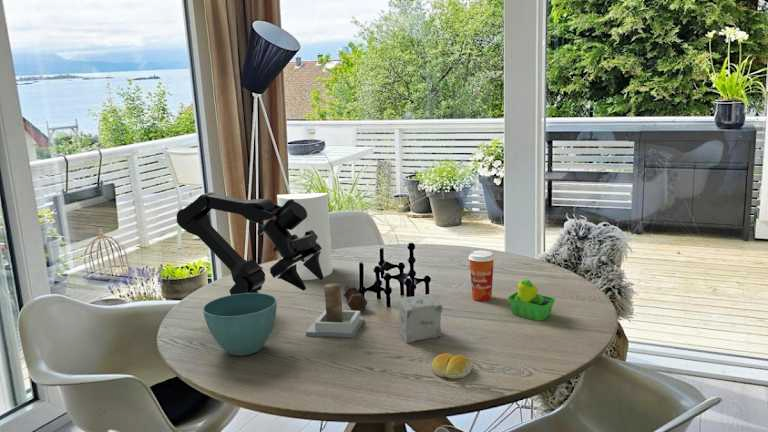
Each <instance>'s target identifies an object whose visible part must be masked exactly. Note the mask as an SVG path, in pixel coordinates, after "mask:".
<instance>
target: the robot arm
mask: <svg viewBox="0 0 768 432" xmlns="http://www.w3.org/2000/svg"><path fill="white" fill-rule="evenodd" d="M212 210H215V211H219V212H224V213H225V212H226V213H230V214H234V215H239V216H242V218H244V219H245V220H247V221H250V222H251V223H255V224H259V223H262V222H265V221H267V220H268V221H267V222H265V223H262V224H259V225H258V230H257V236H261V235H263V234H265V235H266V237H267V238H268V239H269V241H270V242H271V244H272V246H273V248H272V251H273V253H276V252H278V254H279V255H280V256H281V259H279V260H278V261H277V262H275V263H274V264H273V265H272V266H271V267H270V268H269V273H270V274H271V276H272V277H273V278H274V279H276V277H277V279H278V280H283V281H284V282H286V283H289V284H290V285H293V286H294V287H296V288H297V289H300V290H302V291H304V292H305V290H307V286H306V284H305V283H304V280H302V279H301V278H300V276H299V274H298V273H297V268H296V264H295V263H296V262H298V261H300V260H301V261H302V262H305V263H303V265H304V266H305V267H306V268H307V269H309V270H310V271H311V272H312V273H313V274H314V275H315V276H316V277H317V278H318V280H320V281H322V280H323V279H324V278H325V277H323V274H322V271H321V267H320V264H319V254H320V253H321V251H320V250H321V249H322V248H321V247H320V245H319V244H318V243H316V240H317V238H318V236H317V235H316V234H315V233H314V231H313V230H310V231H307V232H305V236H303V237H300V238H298V236H297V235H295V234H294V235H291V233H290V232H289V231H288V230H293V229H294V228H295V227H296V226H297V225H299V224H300V223H301V222H302V221H303V220H304V219H306V218H307V212H306V210H305V208H304V207H303V206H301V205H300V204H299V203H297V202H294V200H293V199H290V200H288V201H287V202H286V203H285V204H284V205H283V206H282V207H281V206H279V205H278V204H276V203H273V201H272V200H271V199H269V198H256V199H255V198H254V199H242V198H239V197H238V198H237V197H234V196H233V197H232V196H226V195H222V194H219V193H218V194H217V193H214V192H205V193H202V194H201V195H199V196H198V197H197V198H196V199H195V200H194V201H192V202H191V203H189V204H188V205H186V207H184V208H181V209H179V210H178V211H177V213H176V223H177V224H178V226H179V227H180V228H182V229H183V230H184V231H185V232H186V233H189V234H191V235H194V236H196V237H198V238H199V239H200V240H201V241H202V242H203V243H204V244H205V245H206V247H207V248H208V249H210V251H211V252H212V253H213V254H214V255H215V256H216V257H217V258H218V260H220V262H222V263H223V264H224V265H225V266H226V268H228V270H229V271H230V273H231V274H230V275H231V278H232V281H233V282H234V284H233V286H232V287H231V288H230V289H229V295H235V294H243V293H260V292H259V291H261V290H262V288H263V285H264V283H265V281H266V273H265V272H264V270H263V268H264V267H262V266H260V265H259V264H258V263H257V261H256V260H255V258H252V259H250V260H249V259H248V260H246V259H244V258H243V257H242V256H241V255H240V254H239V253H238V252H237V250H235V248H233V247H232V246H231V244H229V243H228V241H227V240H226V239H224V237H223V236H222V235H221V234H220V232H218V231H217V230H216V229H215V228H214V227H213V225H212V223H211V219H210V216H209V213H211V211H212ZM317 252H318V253H317ZM282 258H283V259H282ZM293 264H295V265H293Z"/></svg>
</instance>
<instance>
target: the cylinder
mask: <svg viewBox="0 0 768 432" xmlns="http://www.w3.org/2000/svg"><path fill="white" fill-rule="evenodd" d="M290 199H293V200H294V202H297V203H299V204H300V205H301V206H303V207H304V208H305V210H306V212H307V218H306V219H304V220H303V221H302V222H301V223H300V224H299V225H297V226H296V227H295V228H294V229H293V230H288V231H289V232H290V233H291V235H294V234H295V235H297V236H298V238H300V237H303V236H305V232H307V231H310V230H313V231H314V233H315V234H316V235H317V236H318V238H317V240H316V243H318V244H319V245H320V247H321V248H322V249H321V250H320V251H321V253H320V254H319V264H320V267H321V271H322V274H323V277H324V278H325V277H328V276H329V275H331V274H332V273H333V260H332V243H331V241H332V240H331V225H330V209H329V206H330V205H329V193H328V192H321V193H319V192H318V193H297V194H296V193H292V194H276V201H277V202H276V203H277V205H279V206H281V207H282V206H283V205H284V204H285V203H286V202H287V201H288V200H290ZM317 253H318V252H317ZM281 259H283V258H282V257H281ZM303 263H305V262H302V261H301V260H300V261H298V262H296V263H295V264H296V268H297V273H298V274H299V276H300V278H301V279H302V281H311V280H317V279H318V280H319V278H317V277H316V276H315V275H314V274H313V273H312V272H311V271H310V270H309V269H307V268H306V267H305V266H304V265H303ZM295 264H293V265H295Z"/></svg>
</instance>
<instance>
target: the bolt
mask: <svg viewBox="0 0 768 432" xmlns="http://www.w3.org/2000/svg"><path fill="white" fill-rule="evenodd" d="M343 291H344V292H343V297H344V298H345V299H346V301H347V303H346V304H347V307H349V309H350V311H360V312H363V311H364V310H365V309H366V307H367V304H368V301H367V300H366V298H365V297H364V296H363V295H364V294H362V293H360V291H359V290H358V288H357V287H356V286H354V285H348V286H347V285H346V286H345V288H344V290H343Z"/></svg>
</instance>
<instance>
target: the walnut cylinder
mask: <svg viewBox="0 0 768 432" xmlns="http://www.w3.org/2000/svg"><path fill="white" fill-rule="evenodd" d="M323 290H324V291H323V292H324V302H325V310H326V317H327V322H343V313H342V310H343V303H342V291H341V290H342V289H341V284H340V283H336V282H335V283H327V284H325V285H324V286H323Z"/></svg>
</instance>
